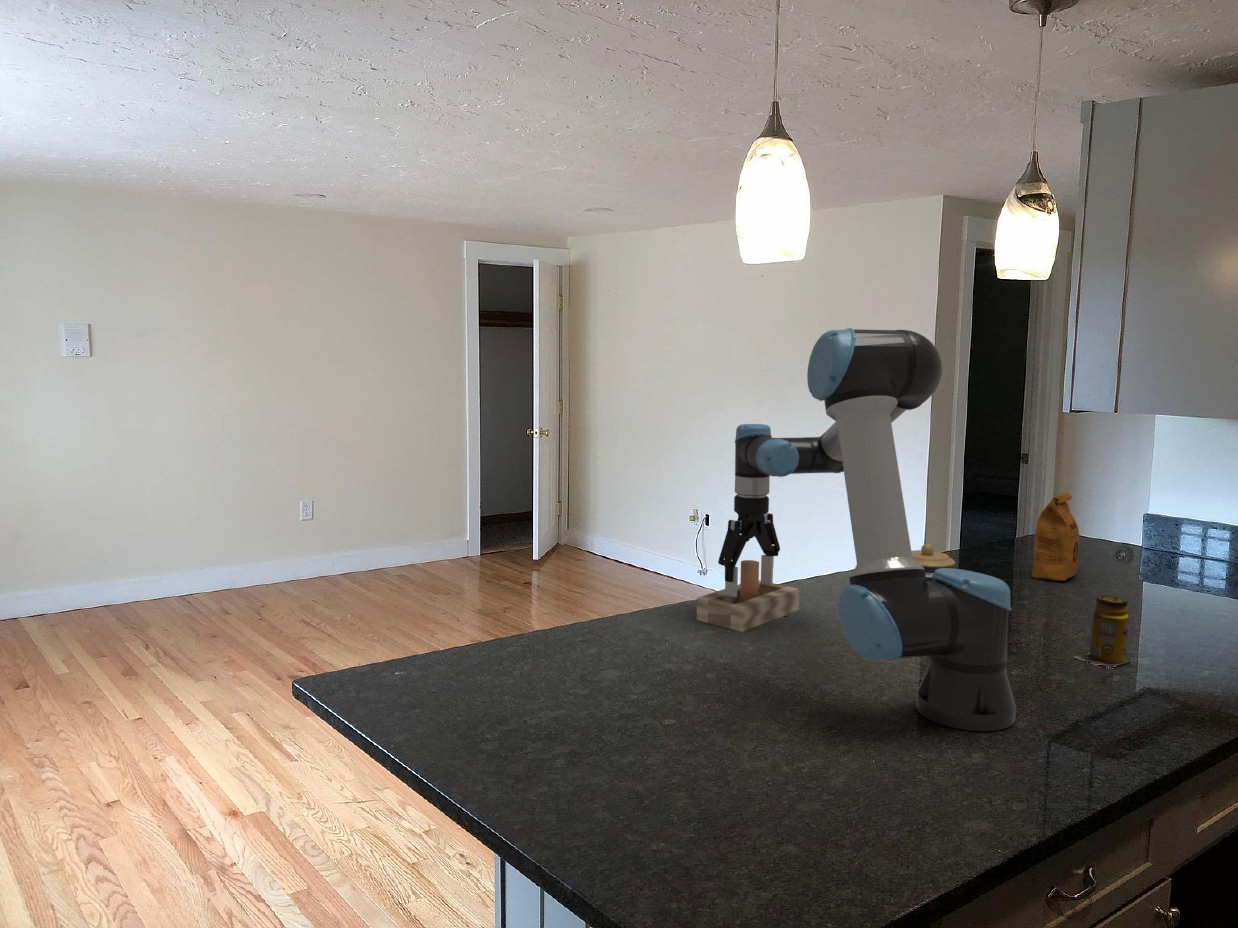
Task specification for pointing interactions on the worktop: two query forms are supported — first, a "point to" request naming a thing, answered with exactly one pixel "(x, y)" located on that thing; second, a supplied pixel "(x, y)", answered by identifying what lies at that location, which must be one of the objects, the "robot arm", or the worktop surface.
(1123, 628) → the condiment
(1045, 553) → the coffee package
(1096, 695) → the worktop surface
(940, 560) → the canister
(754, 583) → the peg
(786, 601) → the socket block
